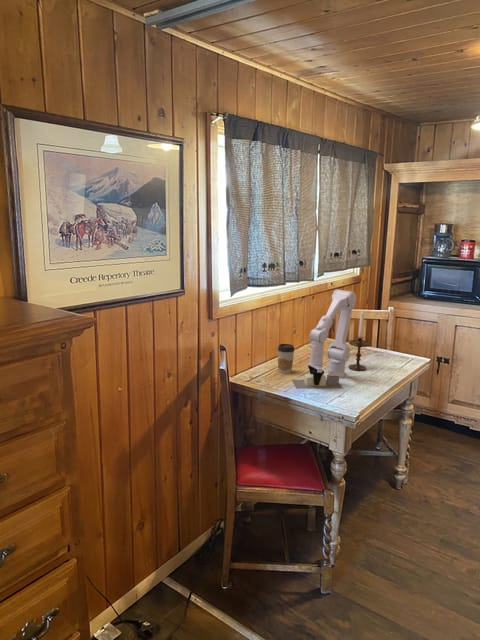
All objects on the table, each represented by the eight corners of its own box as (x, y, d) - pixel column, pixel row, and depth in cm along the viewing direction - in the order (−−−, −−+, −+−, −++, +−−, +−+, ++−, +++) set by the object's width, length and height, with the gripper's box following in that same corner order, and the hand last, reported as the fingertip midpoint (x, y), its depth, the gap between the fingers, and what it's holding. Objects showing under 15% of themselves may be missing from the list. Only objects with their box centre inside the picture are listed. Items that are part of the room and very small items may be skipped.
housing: (291, 382, 234) (291, 371, 233) (335, 382, 236) (336, 371, 235) (296, 391, 222) (296, 380, 221) (343, 391, 224) (344, 380, 223)
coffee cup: (274, 375, 243) (275, 346, 240) (279, 370, 251) (280, 342, 247) (290, 378, 240) (292, 348, 237) (294, 373, 248) (296, 344, 244)
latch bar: (328, 374, 229) (328, 371, 229) (343, 374, 230) (343, 371, 229) (329, 375, 227) (329, 372, 227) (344, 376, 228) (344, 372, 228)
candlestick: (352, 372, 253) (358, 305, 245) (343, 365, 263) (349, 301, 255) (371, 371, 255) (377, 305, 247) (362, 365, 265) (368, 301, 258)
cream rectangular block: (304, 382, 230) (304, 374, 230) (322, 382, 231) (323, 374, 230) (306, 385, 226) (307, 377, 225) (325, 385, 226) (326, 377, 226)
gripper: (304, 350, 232) (303, 377, 235) (312, 359, 218) (310, 387, 221) (319, 350, 233) (317, 377, 236) (327, 359, 219) (325, 387, 222)
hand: (314, 382), depth 228 cm, fingers open, 5 cm apart
